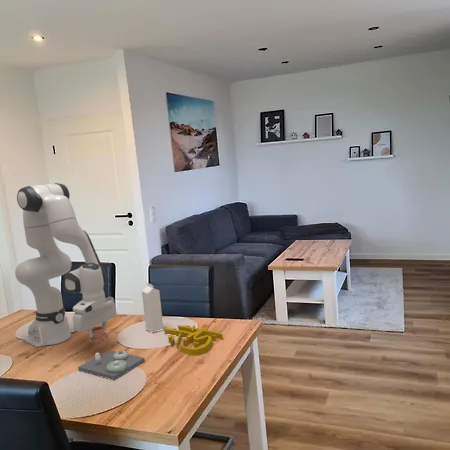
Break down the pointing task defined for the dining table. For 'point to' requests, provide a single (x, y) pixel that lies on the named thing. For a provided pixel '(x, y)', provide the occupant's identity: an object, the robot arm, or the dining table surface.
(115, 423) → the dining table surface
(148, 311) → the milk
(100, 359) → the carrier
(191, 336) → the decorative art
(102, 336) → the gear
